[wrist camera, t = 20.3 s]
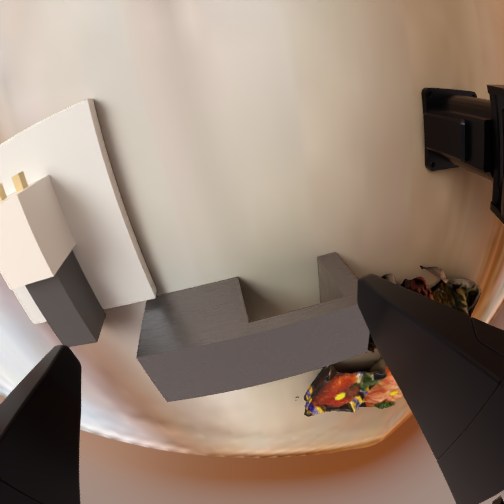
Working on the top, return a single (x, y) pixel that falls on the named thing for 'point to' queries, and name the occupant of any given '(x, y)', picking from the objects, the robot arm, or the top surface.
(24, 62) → the top surface
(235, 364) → the grey notched block
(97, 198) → the white mat
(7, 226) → the plug
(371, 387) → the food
